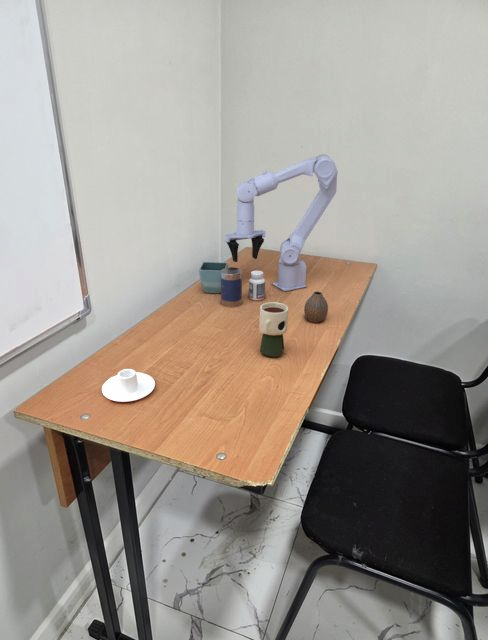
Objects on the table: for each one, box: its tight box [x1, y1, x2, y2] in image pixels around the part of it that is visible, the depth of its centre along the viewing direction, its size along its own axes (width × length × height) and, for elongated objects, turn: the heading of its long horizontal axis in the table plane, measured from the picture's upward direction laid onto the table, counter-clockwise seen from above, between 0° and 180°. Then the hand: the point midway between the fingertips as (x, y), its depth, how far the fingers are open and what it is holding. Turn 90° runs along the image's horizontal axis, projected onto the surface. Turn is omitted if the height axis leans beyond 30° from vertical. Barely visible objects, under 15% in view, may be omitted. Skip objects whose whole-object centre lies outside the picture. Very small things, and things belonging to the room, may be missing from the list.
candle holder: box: [101, 368, 156, 403], centre depth 101 cm, size 12×12×4 cm
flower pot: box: [198, 261, 229, 294], centre depth 152 cm, size 9×9×9 cm
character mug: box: [258, 301, 289, 358], centre depth 114 cm, size 11×7×13 cm, turn 154°
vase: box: [303, 290, 329, 324], centre depth 132 cm, size 7×7×9 cm
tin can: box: [220, 266, 243, 308], centre depth 143 cm, size 7×7×11 cm
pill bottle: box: [248, 270, 266, 301], centre depth 147 cm, size 5×5×9 cm
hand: (244, 259), depth 155 cm, fingers open, 7 cm apart
